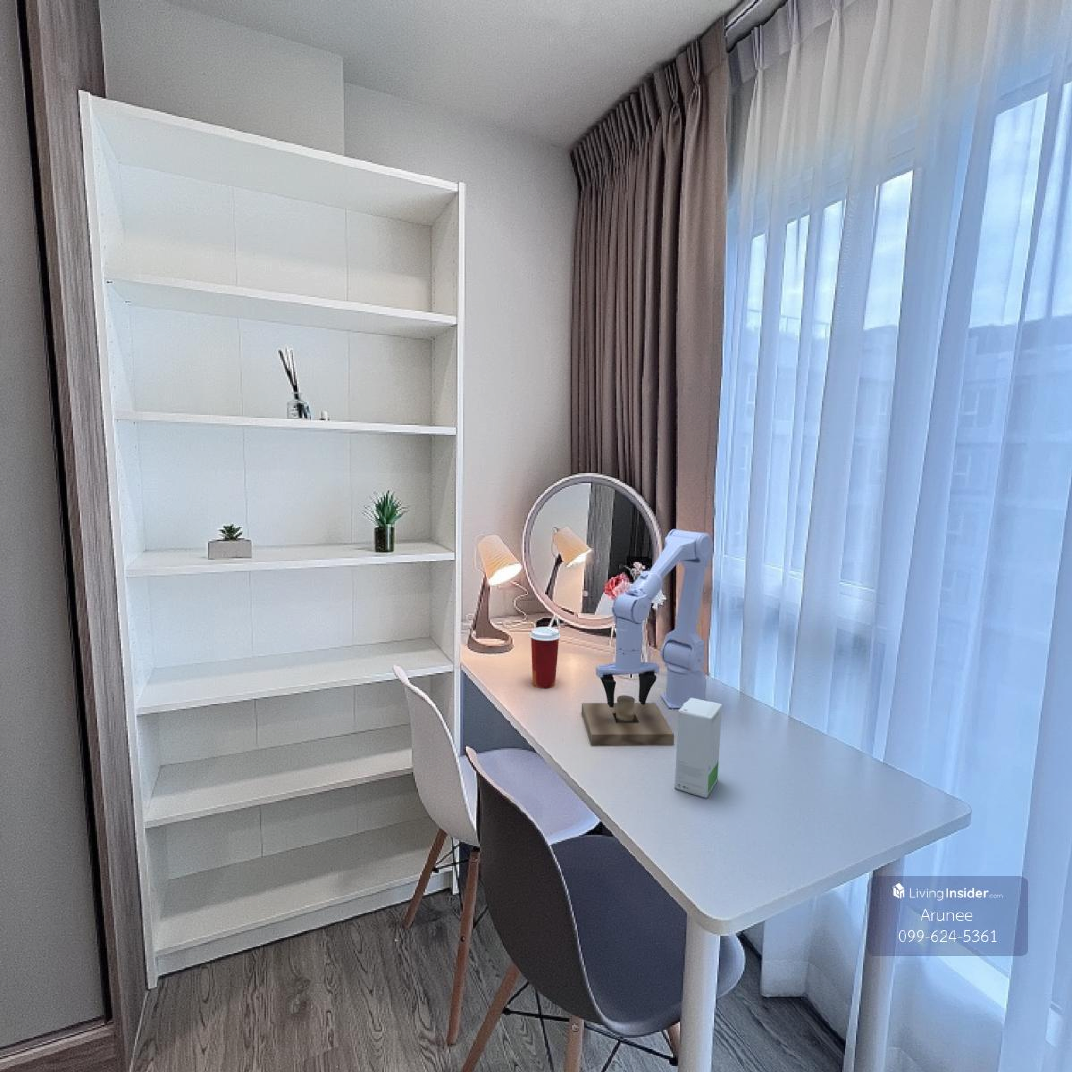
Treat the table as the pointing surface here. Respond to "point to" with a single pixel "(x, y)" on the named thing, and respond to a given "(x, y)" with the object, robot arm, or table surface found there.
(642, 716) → the board
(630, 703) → the peg
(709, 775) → the skincare box
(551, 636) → the coffee cup
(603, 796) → the table surface
